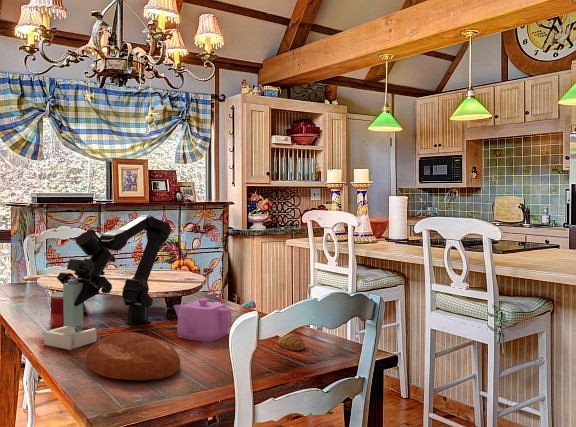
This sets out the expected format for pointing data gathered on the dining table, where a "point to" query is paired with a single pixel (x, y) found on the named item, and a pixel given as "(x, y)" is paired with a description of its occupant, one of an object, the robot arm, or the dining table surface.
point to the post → (72, 304)
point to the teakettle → (203, 320)
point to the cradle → (69, 337)
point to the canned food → (57, 310)
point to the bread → (132, 357)
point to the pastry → (291, 342)
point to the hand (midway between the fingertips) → (69, 304)
